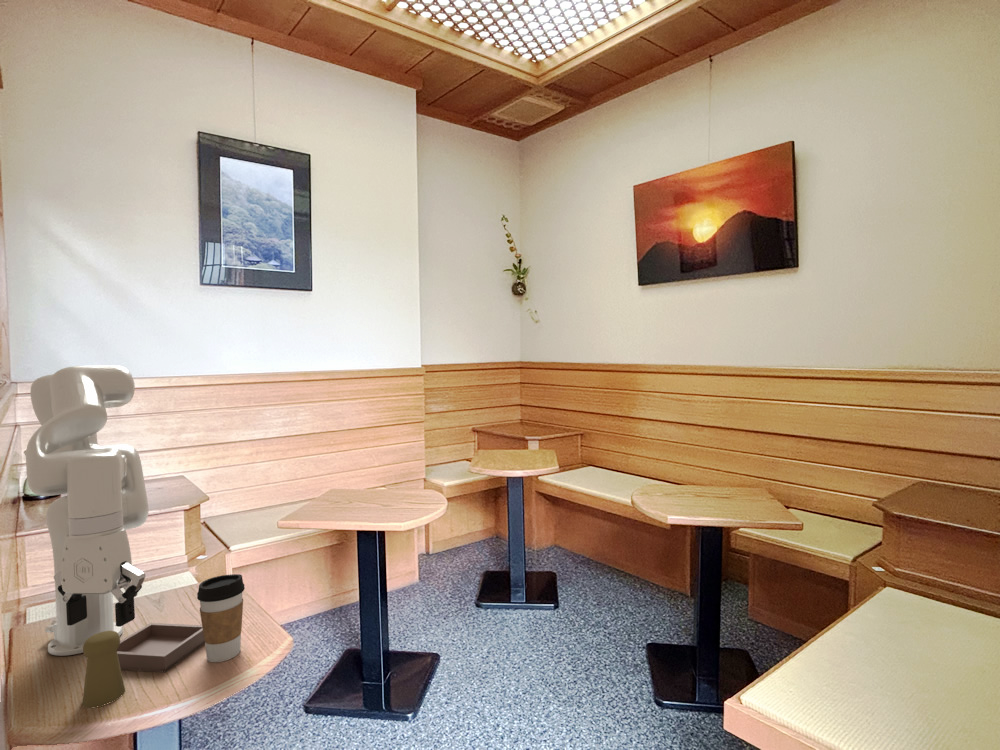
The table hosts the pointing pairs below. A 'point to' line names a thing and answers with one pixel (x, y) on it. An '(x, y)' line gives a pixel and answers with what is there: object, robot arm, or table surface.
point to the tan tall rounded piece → (102, 669)
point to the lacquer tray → (159, 646)
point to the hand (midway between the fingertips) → (101, 622)
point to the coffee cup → (221, 615)
